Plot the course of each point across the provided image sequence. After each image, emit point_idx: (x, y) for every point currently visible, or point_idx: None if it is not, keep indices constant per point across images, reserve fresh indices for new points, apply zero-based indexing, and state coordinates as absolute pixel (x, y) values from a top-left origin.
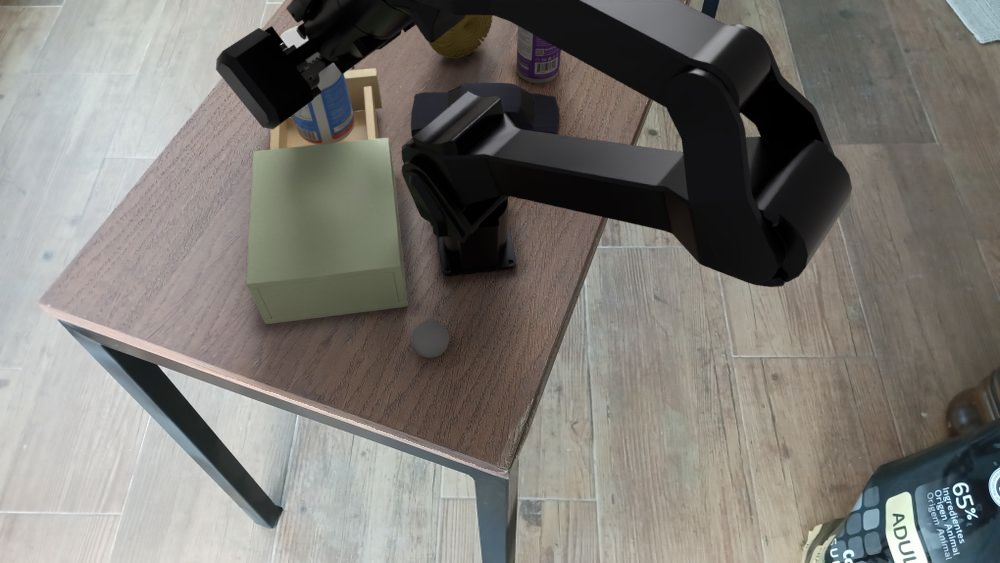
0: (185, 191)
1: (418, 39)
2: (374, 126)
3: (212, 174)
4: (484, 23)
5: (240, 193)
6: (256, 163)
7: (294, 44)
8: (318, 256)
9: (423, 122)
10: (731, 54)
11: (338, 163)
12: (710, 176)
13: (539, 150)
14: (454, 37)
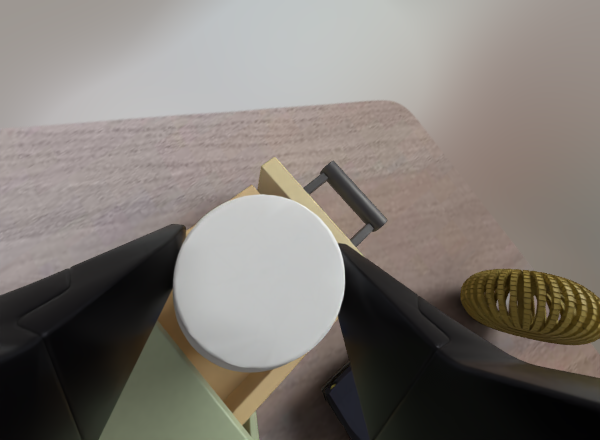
0: (100, 169)
1: (458, 244)
2: (283, 378)
3: (143, 179)
4: (546, 341)
5: (130, 230)
6: None
7: (228, 271)
8: None
9: (351, 403)
10: None
11: (143, 428)
12: None
13: None
14: (501, 324)
